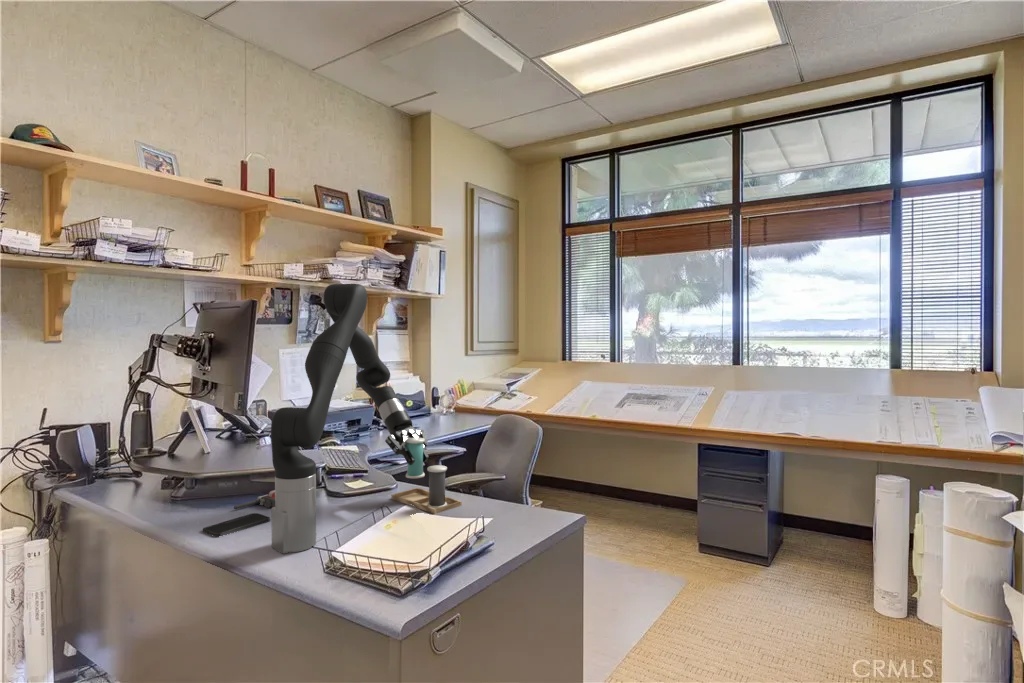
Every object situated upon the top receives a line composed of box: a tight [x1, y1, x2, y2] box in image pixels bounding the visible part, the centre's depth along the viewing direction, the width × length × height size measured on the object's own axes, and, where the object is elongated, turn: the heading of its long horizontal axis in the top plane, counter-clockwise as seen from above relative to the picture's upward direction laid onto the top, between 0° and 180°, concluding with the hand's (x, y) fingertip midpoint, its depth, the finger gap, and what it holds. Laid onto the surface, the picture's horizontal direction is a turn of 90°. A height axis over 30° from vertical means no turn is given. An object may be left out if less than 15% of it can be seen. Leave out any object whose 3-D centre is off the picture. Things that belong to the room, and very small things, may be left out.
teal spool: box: [405, 438, 426, 479], centre depth 169 cm, size 6×6×11 cm
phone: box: [202, 512, 271, 538], centre depth 149 cm, size 8×1×15 cm
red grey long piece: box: [233, 489, 275, 510], centre depth 167 cm, size 9×4×20 cm
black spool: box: [426, 464, 448, 509], centre depth 162 cm, size 6×6×11 cm
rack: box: [390, 487, 463, 515], centre depth 166 cm, size 20×10×3 cm, turn 48°
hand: (419, 461), depth 167 cm, fingers closed on teal spool, 4 cm apart
